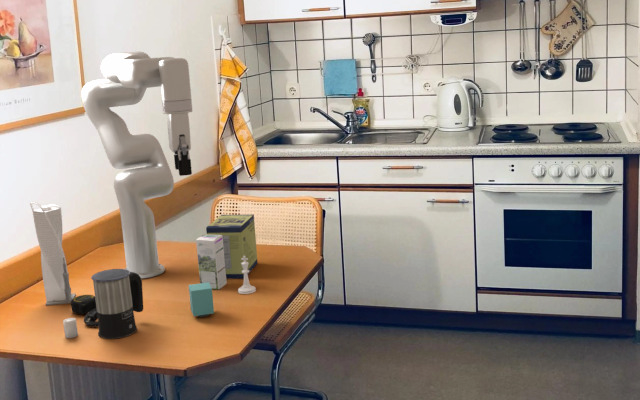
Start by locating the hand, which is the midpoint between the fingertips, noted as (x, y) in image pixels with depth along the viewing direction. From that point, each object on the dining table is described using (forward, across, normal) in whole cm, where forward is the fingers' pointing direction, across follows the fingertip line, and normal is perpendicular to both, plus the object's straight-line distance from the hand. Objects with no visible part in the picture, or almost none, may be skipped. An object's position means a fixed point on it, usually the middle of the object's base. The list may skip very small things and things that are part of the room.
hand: (183, 171), depth 214 cm
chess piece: (+34, +2, +14) cm, 37 cm away
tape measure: (+35, 0, -28) cm, 45 cm away
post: (+34, +16, 0) cm, 38 cm away
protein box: (+35, -18, +14) cm, 41 cm away
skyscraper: (+34, -13, -36) cm, 52 cm away
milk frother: (+35, +16, -23) cm, 44 cm away
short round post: (+34, +17, -32) cm, 50 cm away
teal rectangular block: (+33, +16, 0) cm, 37 cm away
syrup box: (+34, -6, +6) cm, 36 cm away
